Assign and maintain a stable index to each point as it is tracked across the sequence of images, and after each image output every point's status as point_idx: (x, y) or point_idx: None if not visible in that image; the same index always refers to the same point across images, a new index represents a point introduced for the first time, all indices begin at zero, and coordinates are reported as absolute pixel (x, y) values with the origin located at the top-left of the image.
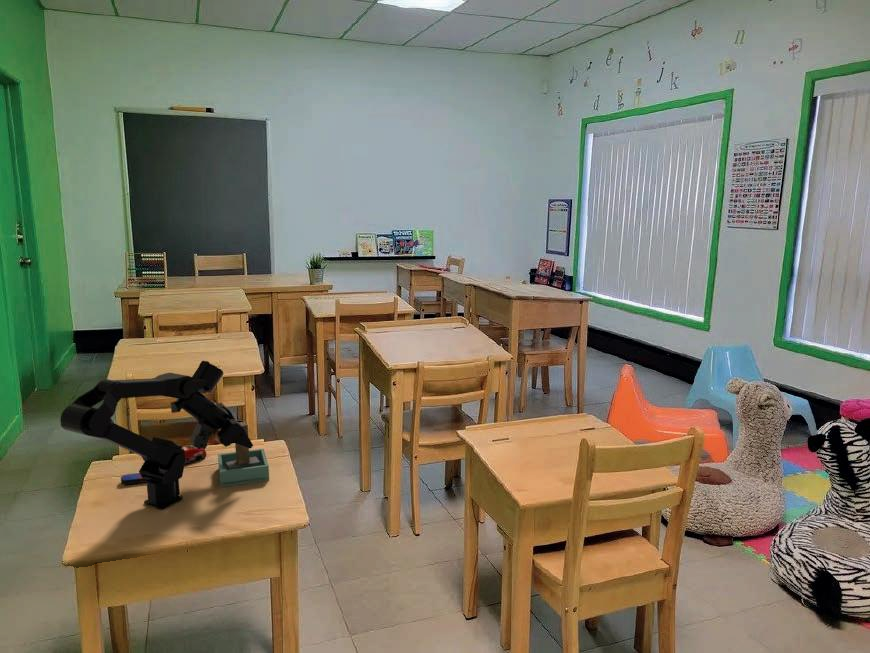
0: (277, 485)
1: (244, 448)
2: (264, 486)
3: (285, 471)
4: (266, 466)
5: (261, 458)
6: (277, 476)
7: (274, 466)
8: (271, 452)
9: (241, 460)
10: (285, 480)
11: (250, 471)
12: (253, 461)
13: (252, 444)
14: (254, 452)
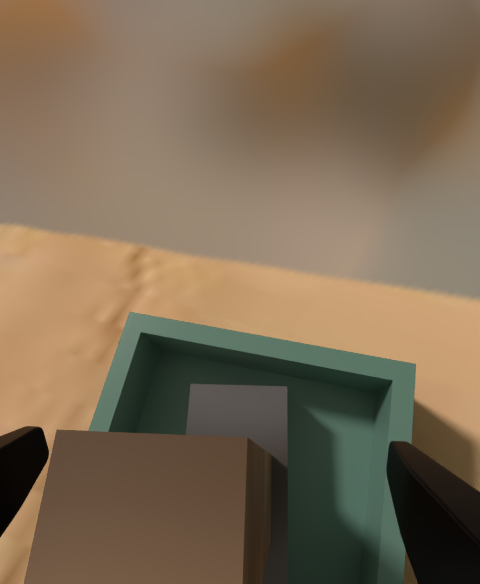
0: (474, 365)
1: (266, 496)
2: (462, 432)
3: (319, 282)
4: (413, 378)
5: (166, 348)
6: (361, 332)
7: (234, 309)
8: (71, 275)
9: (269, 520)
10: (426, 312)
11: None
12: (261, 423)
13: (420, 451)
14: (131, 374)
